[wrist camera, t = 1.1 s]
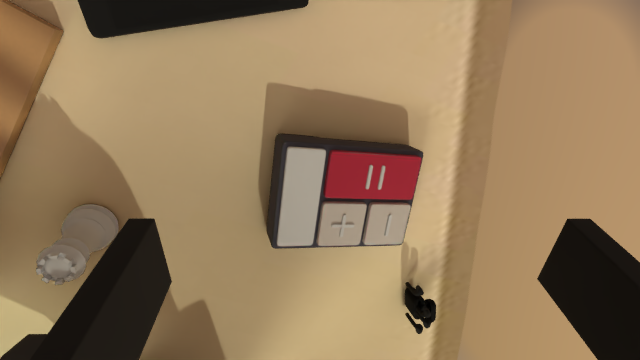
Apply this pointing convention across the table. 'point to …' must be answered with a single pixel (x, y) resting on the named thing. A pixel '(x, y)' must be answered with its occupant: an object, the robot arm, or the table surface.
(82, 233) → the rook chess piece
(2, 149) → the board
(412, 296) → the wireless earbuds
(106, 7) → the cell phone
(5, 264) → the table surface
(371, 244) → the calculator
